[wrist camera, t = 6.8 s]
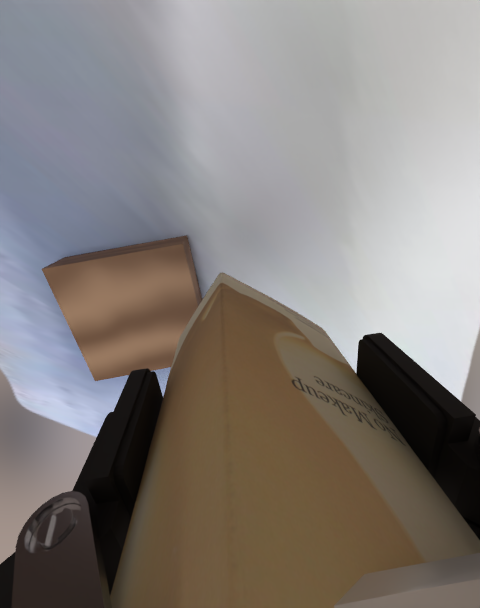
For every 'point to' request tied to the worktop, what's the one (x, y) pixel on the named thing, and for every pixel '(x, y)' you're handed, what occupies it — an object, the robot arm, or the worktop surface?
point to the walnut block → (127, 303)
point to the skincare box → (274, 472)
